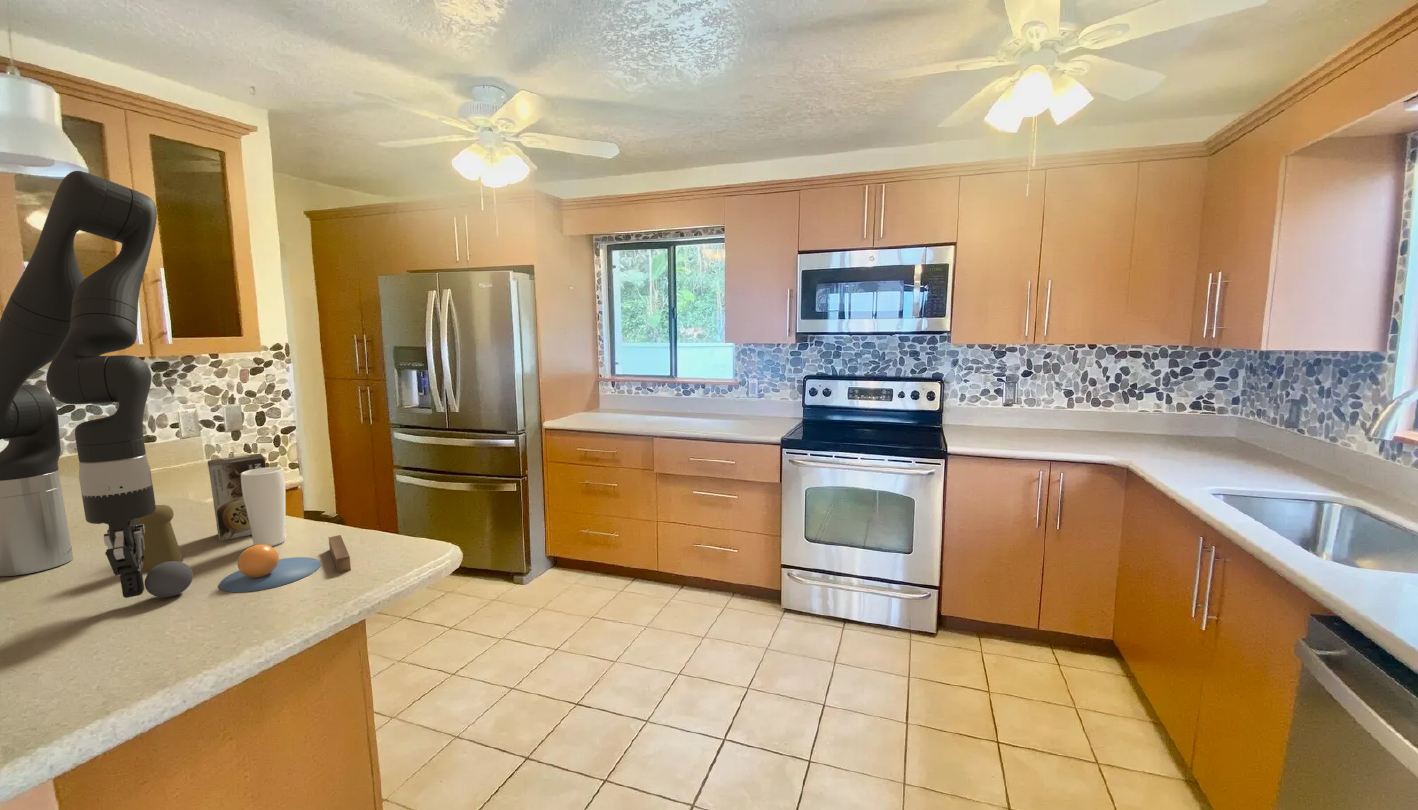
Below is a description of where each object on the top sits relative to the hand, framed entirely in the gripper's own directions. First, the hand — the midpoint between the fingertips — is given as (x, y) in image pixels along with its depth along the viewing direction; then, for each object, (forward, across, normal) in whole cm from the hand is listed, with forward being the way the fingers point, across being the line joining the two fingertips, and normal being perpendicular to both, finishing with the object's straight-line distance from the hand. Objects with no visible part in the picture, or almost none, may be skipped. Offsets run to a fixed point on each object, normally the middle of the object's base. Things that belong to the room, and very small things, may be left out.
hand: (134, 594), depth 88 cm
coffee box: (+2, +31, -13) cm, 34 cm away
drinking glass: (+2, +19, -17) cm, 26 cm away
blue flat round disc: (+2, 0, -17) cm, 17 cm away
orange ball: (-1, 0, -15) cm, 15 cm away
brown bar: (+2, 0, -27) cm, 27 cm away
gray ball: (-1, 0, -4) cm, 4 cm away
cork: (+2, +19, -1) cm, 19 cm away
